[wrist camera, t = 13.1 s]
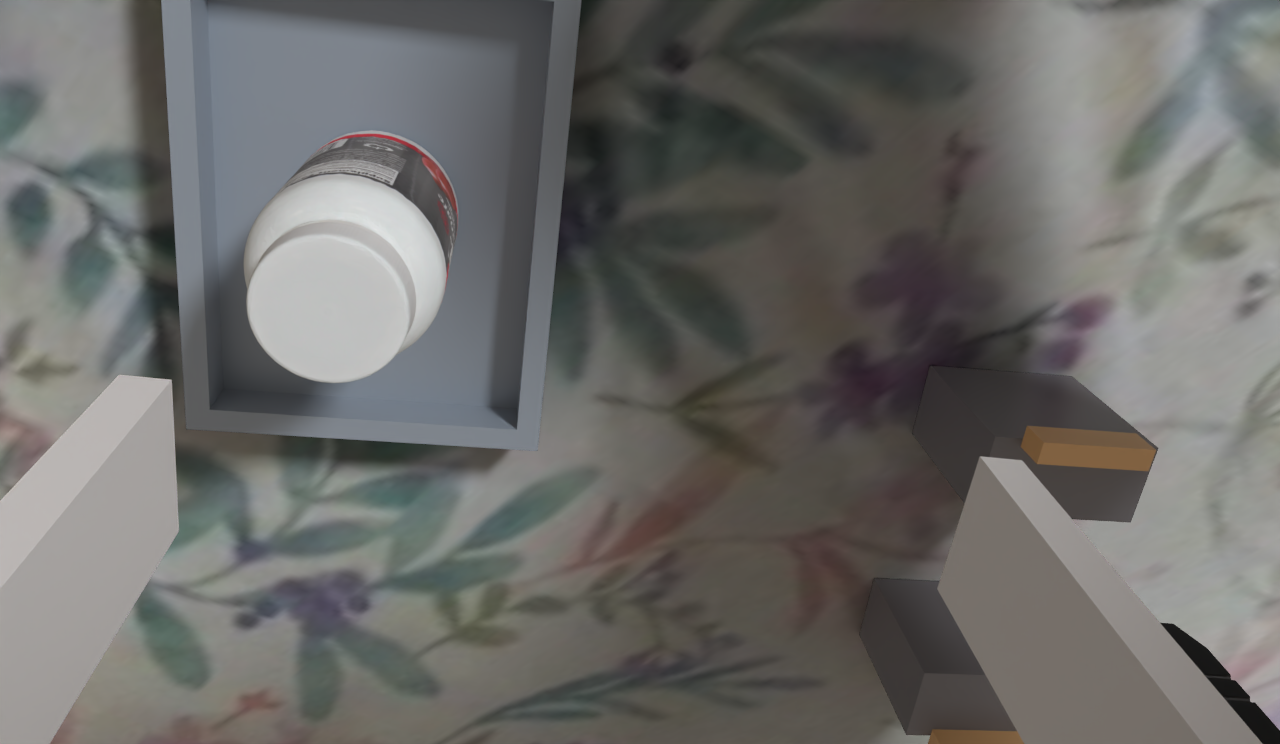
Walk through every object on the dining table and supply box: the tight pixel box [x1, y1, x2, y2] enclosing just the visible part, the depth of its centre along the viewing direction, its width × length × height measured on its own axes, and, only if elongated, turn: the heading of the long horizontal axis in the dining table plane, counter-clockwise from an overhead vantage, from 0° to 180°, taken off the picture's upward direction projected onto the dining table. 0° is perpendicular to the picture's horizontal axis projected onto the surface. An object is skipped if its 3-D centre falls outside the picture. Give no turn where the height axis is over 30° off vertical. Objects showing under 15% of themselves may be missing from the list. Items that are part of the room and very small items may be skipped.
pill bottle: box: [244, 130, 458, 383], centre depth 29 cm, size 5×5×10 cm
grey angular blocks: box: [860, 365, 1158, 744], centre depth 39 cm, size 14×6×7 cm, turn 173°
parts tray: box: [161, 0, 581, 451], centre depth 33 cm, size 16×12×2 cm
